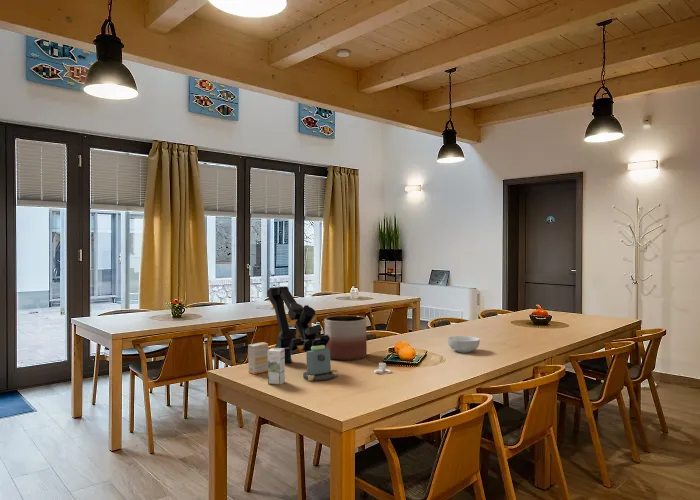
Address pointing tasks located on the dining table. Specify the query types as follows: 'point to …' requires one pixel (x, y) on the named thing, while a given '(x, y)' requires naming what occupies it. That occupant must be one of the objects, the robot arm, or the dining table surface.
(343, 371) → the dining table surface
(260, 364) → the supplement box
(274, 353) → the syrup box
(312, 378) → the base
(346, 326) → the planter
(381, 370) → the white lobed piece
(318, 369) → the grey upright slab
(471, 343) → the cereal bowl
